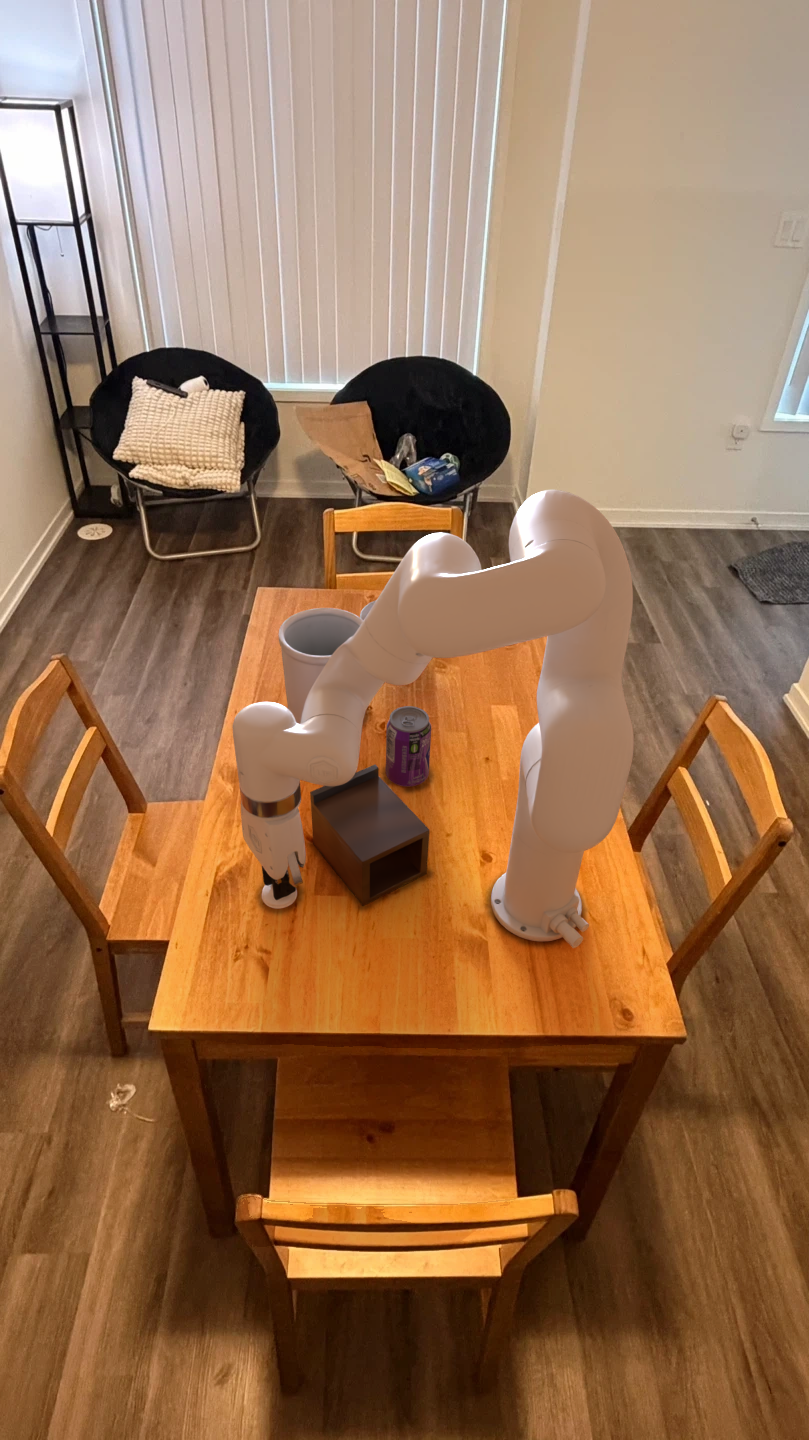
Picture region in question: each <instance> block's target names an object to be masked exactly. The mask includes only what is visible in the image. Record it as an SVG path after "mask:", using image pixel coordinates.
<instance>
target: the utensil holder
mask: <svg viewBox="0 0 809 1440" xmlns="http://www.w3.org/2000/svg"><path fill="white" fill-rule="evenodd" d="M362 622H363V620H362V619H361V618H360V616H359V615H357V614H355V613H353V612H350V611H348V610H345V609H341V608H334V607H319V608H317V607H316V608H311V609H306V610H302V611H299V612H297V613H294V614H293V615H290V616H289V617H287V619H285V620H284V621H283V622H282V623H281V625H280V627H279V629H278V636H277V637H278V642H279V646H280V649H281V659H282V660H281V661H282V668H283V677H284V686H285V687H284V688H285V696H286V697H285V698H286V705H287V709H289V710H290V711H291V712H292V714H293V715H294V718H295V720H296V723H298V724H300V723H301V718H302V713H303V709H304V705H305V701H306V699H307V696H308V694H309V692H310V690H311V688H312V686H313V685H314V683H315V681H316V680H317V678H318V676H319V675H320V673H321V672H322V670H323V668H324V667H325V665H326V664H327V662H328V660H329V659H330V657H331V656H332V655H333V653H334V652H335V651H336V650H337V648H338V647H339V646H341V645H342V644H343V643H344V642H346V641H347V640H348V639H349V638H350V637H352V636H354V634H355V633H356V631H357V630H358V628H359V627H360V625H361V624H362ZM365 716H366V712H365V713H364V718H365ZM364 718H363V720H364Z"/></svg>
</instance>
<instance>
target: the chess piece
mask: <svg viewBox="0 0 809 1440" xmlns="http://www.w3.org/2000/svg"><path fill="white" fill-rule="evenodd" d="M297 897H298V890H297V889H296V891H295V892H293V893H291V894H290V895H288V896H286V897H283V898H281V899H279V900H275V898H274V896H273V886H272V884H271V885H269V886H266V885H265V884H264V886H263V888H262V890H261V899H262V902H263V903H264V904H265V905H266V906H267V907H269V908H272V909H275V910H276V909H280V910H281V909H284V908H287V907H290V906H291V905H292V904H294V903H295V901H296V899H297Z"/></svg>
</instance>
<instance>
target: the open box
mask: <svg viewBox="0 0 809 1440" xmlns="http://www.w3.org/2000/svg"><path fill="white" fill-rule="evenodd" d="M379 771H380V768H379V766H378V765H377V764H372V765H370V766H367V767H365V768H363V769H361V770H358V771H356V773H355V775H354V776H353V777H352V779H351V780H349V781H348V782H347V783H345V784H342V785H339V786H323V785H322V786H321V787H318V788H316V789H314V790H310V792H309V795H310V796H309V798H310V813H311V814H310V815H311V831H312V845H313V846H314V848H316V850H317V851H318V852H319V854H320V855H321V856H322V857H323V858H324V860H325V861H326V862H327V864H328V865H329V866H330V867H331V868H332V870H333V871H334V872H335V874H336V875H337V877H338V878H339V879H340V880H341V881H342V883H343V884H344V885H345V886H346V887H347V889H348V890H349V891H350V893H351V894H352V895H353V896H354V897H355V899H356V900H357V901H358V903H359V904H360V905H361V907H365V906H367V905H368V904H370V903H373V902H375V901H377V900H378V899H380V898H383V897H384V896H387V895H388V894H390V893H392V892H395V891H396V890H398V889H400V888H402V887H404V886H406V885H407V884H410V883H411V882H413V881H416V880H417V879H419V878H421V877H424V876H425V875H427V874H428V861H429V848H430V846H429V845H430V829H429V828H428V826H427V825H426V824H425V823H424V822H423V821H422V819H420V818H419V816H417V815H416V814H415V812H413V810H412V809H411V808H410V807H409V806H408V805H407V804H406V802H404V801H403V800H402V799H401V798H400V796H398V794H396V793H395V791H393V789H392V788H391V787H390V786H389V785H388V784H387V783H386V781H384V780H383V779H382V777H380V775H379V774H380V772H379Z"/></svg>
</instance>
